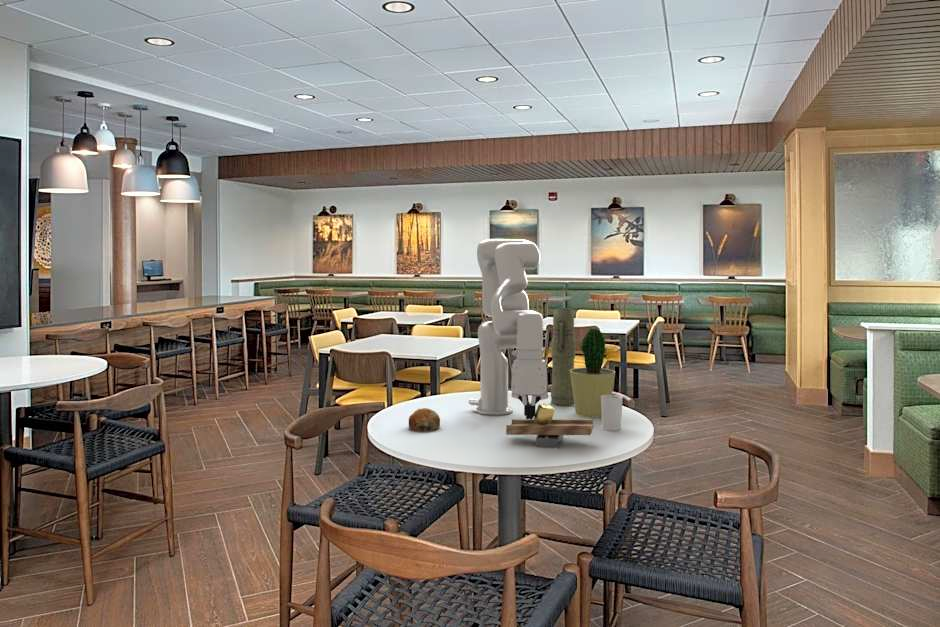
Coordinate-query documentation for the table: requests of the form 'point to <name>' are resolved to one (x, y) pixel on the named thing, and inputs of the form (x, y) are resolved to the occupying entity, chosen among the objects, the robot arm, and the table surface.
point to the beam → (551, 427)
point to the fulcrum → (548, 441)
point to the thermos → (562, 357)
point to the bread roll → (424, 420)
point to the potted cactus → (591, 376)
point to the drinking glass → (611, 412)
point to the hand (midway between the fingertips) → (529, 418)
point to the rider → (544, 414)
